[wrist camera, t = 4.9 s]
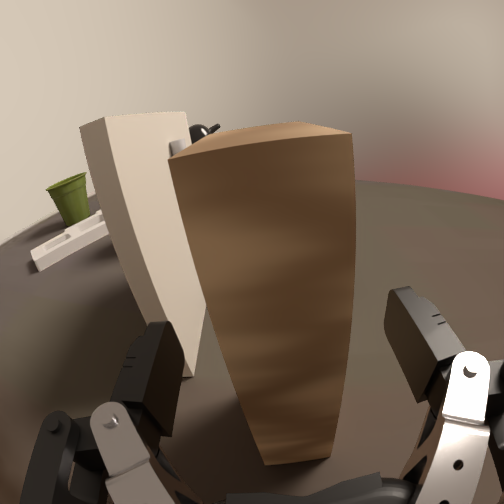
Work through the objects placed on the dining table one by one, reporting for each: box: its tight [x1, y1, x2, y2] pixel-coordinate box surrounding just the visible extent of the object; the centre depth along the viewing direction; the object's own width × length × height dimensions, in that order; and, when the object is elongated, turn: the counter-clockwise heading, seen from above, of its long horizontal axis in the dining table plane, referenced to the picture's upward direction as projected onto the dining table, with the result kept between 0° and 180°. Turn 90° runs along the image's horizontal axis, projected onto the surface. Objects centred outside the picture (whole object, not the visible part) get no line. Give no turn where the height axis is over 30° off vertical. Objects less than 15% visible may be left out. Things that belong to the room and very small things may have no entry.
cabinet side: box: [79, 112, 206, 377], centre depth 22 cm, size 14×18×17 cm
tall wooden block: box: [168, 121, 356, 465], centre depth 11 cm, size 4×6×15 cm, turn 1°
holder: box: [31, 210, 109, 272], centre depth 58 cm, size 45×18×3 cm, turn 139°
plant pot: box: [46, 172, 90, 226], centre depth 61 cm, size 12×12×11 cm
